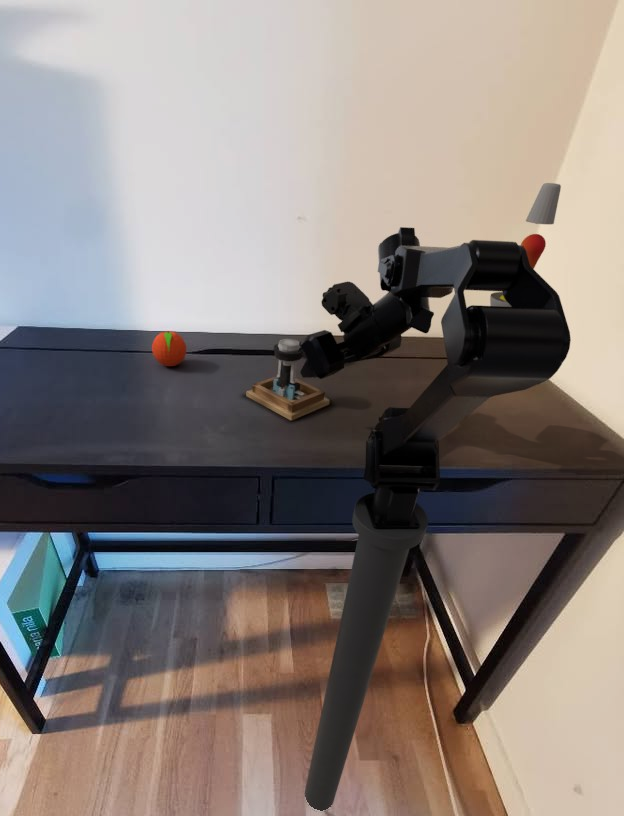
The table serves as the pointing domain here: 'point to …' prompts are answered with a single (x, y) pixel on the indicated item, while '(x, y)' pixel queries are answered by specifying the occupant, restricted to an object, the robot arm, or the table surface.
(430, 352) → the table surface
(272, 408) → the base pad
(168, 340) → the clementine
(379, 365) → the table surface
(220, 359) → the table surface
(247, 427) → the table surface
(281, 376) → the push button
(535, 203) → the lava lamp
